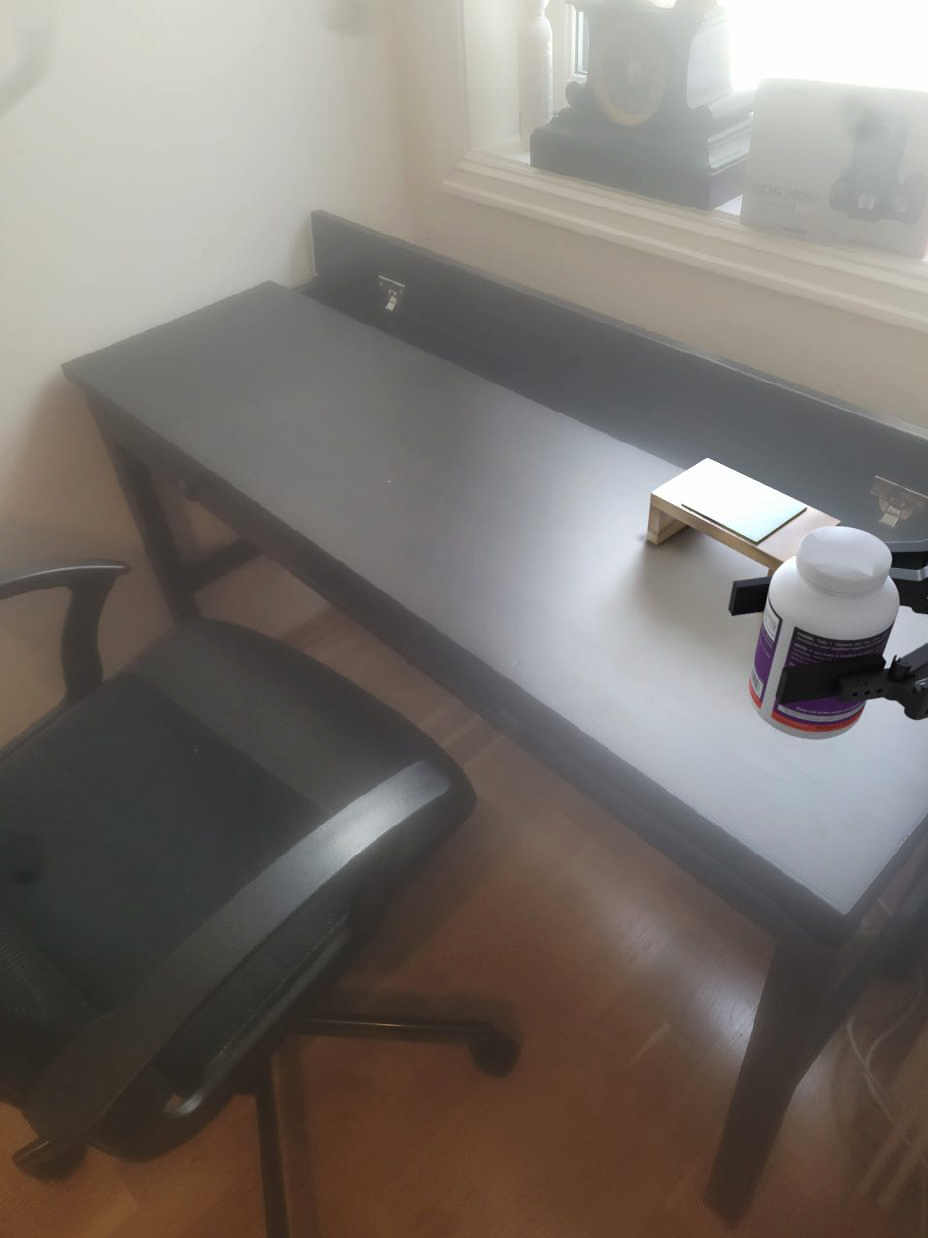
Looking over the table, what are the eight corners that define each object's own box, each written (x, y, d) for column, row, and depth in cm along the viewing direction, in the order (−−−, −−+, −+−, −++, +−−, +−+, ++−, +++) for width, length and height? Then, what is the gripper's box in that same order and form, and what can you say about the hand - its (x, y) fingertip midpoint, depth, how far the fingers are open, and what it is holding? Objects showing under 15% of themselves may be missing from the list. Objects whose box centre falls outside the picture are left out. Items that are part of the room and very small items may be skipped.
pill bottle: (883, 713, 63) (945, 559, 53) (806, 764, 60) (856, 611, 50) (796, 650, 68) (838, 499, 59) (722, 694, 65) (752, 543, 56)
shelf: (828, 569, 87) (842, 519, 82) (773, 611, 83) (785, 561, 79) (700, 503, 96) (707, 456, 92) (646, 538, 92) (650, 490, 88)
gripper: (1155, 745, 55) (809, 797, 54) (970, 548, 70) (698, 585, 69) (1216, 663, 50) (836, 718, 49) (1003, 469, 65) (710, 508, 64)
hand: (755, 640), depth 59 cm, fingers closed on pill bottle, 8 cm apart
